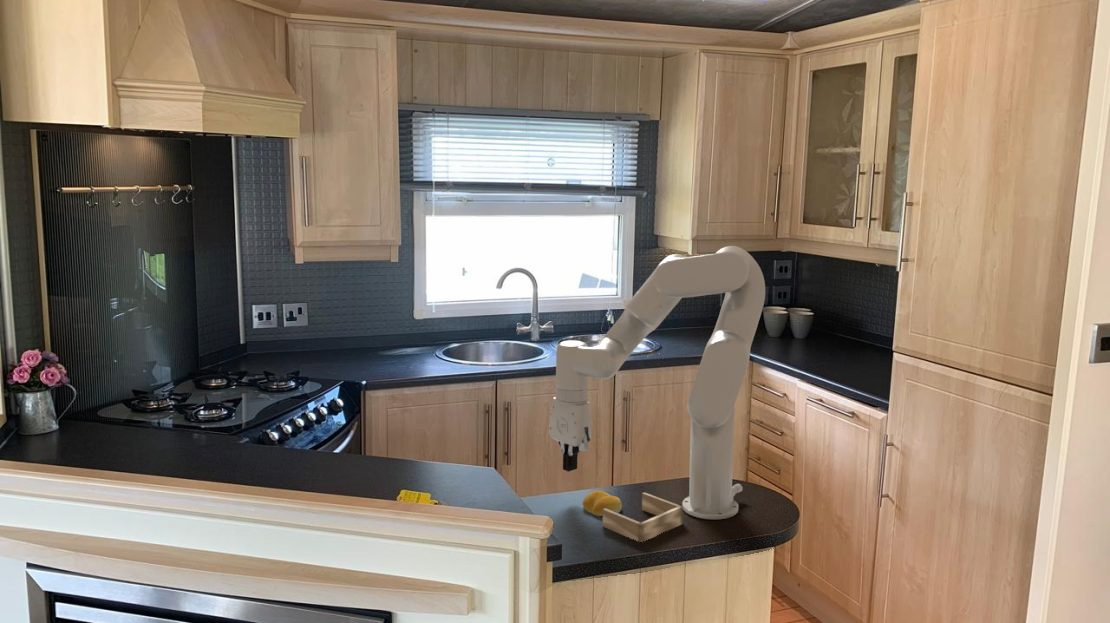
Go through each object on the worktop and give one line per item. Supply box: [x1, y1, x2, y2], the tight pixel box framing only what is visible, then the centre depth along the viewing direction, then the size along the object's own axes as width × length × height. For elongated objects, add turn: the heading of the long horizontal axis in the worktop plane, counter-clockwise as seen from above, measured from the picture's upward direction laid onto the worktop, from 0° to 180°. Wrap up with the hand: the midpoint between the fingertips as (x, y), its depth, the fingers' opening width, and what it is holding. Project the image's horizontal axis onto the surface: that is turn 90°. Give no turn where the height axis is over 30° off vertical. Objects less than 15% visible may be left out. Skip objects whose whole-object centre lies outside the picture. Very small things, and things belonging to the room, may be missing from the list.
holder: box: [602, 492, 684, 543], centre depth 189 cm, size 14×11×4 cm
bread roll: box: [582, 490, 623, 517], centre depth 197 cm, size 8×9×4 cm
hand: (570, 469), depth 204 cm, fingers closed
